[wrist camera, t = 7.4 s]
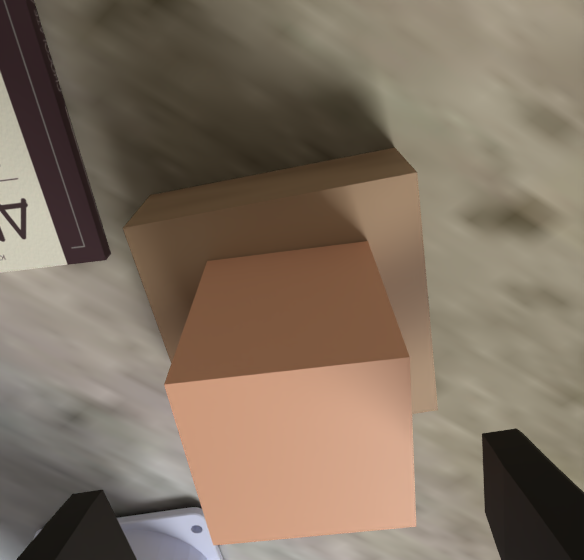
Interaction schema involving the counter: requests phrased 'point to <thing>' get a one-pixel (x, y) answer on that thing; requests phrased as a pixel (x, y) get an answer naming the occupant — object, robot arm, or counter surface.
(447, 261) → the counter surface
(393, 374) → the terracotta block
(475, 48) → the counter surface
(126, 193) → the counter surface
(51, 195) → the chocolate bar
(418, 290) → the walnut base block
